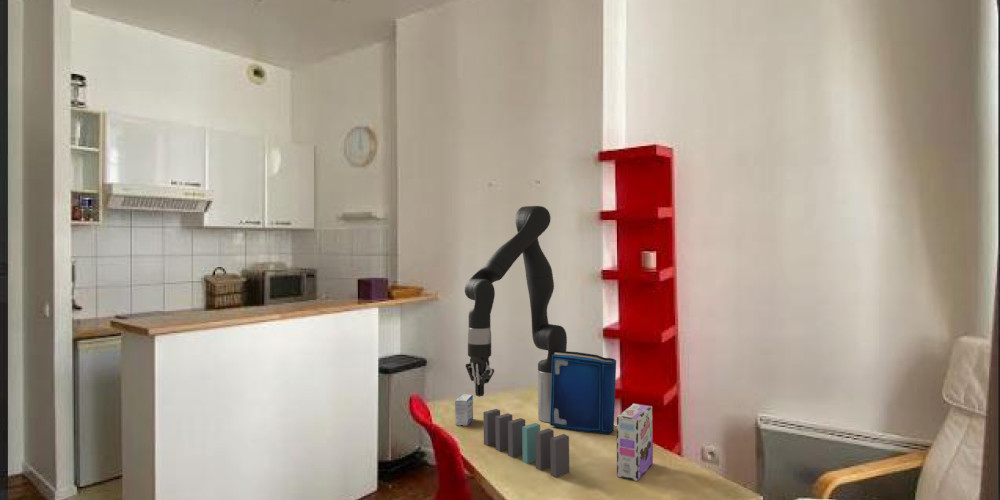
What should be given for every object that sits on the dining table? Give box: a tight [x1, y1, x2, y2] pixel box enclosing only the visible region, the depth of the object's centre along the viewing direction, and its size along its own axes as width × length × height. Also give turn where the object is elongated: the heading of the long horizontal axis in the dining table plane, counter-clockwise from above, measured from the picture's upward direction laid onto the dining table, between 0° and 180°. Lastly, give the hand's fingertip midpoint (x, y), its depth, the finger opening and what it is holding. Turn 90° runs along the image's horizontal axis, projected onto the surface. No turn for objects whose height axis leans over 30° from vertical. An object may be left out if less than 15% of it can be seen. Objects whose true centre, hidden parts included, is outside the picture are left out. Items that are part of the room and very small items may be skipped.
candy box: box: [616, 403, 654, 482], centre depth 153 cm, size 14×6×16 cm, turn 148°
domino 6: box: [550, 433, 570, 479], centre depth 151 cm, size 5×2×10 cm, turn 128°
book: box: [549, 350, 617, 435], centre depth 187 cm, size 22×7×25 cm, turn 66°
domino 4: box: [522, 422, 541, 464], centre depth 160 cm, size 5×2×10 cm, turn 128°
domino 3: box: [507, 417, 526, 458], centre depth 165 cm, size 5×2×10 cm, turn 128°
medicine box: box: [454, 394, 474, 427], centre depth 195 cm, size 8×4×9 cm, turn 168°
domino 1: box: [483, 408, 501, 447], centre depth 174 cm, size 5×2×10 cm, turn 128°
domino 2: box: [495, 412, 513, 452], centre depth 170 cm, size 5×2×10 cm, turn 128°
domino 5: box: [535, 427, 555, 471], centre depth 156 cm, size 5×2×10 cm, turn 128°
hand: (479, 395), depth 179 cm, fingers closed
